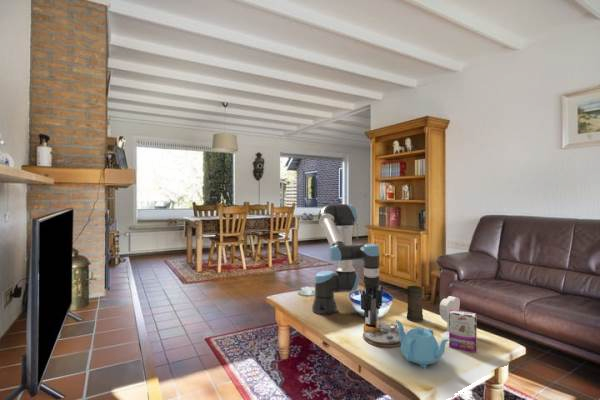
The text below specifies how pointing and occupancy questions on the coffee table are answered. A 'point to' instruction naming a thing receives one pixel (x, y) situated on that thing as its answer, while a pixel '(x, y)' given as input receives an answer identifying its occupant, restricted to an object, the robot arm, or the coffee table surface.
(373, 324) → the steel pin
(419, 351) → the teapot
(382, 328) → the lugged metal disc
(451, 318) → the candy bar box
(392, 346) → the nut base
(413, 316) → the container
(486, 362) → the coffee table surface
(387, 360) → the coffee table surface
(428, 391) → the coffee table surface
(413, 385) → the coffee table surface
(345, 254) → the robot arm
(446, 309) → the heart sculpture
